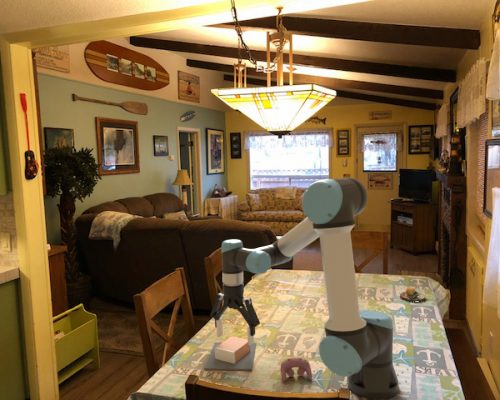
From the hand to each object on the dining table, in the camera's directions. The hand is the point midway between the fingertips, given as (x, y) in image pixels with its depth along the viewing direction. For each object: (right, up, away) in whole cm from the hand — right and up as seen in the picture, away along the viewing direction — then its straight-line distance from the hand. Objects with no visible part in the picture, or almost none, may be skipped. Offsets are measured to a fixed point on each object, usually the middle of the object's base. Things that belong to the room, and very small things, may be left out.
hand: (235, 340), depth 152 cm
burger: (+86, +2, +54) cm, 101 cm away
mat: (-1, -5, -1) cm, 6 cm away
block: (+2, -2, +3) cm, 4 cm away
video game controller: (+20, -7, -17) cm, 27 cm away
